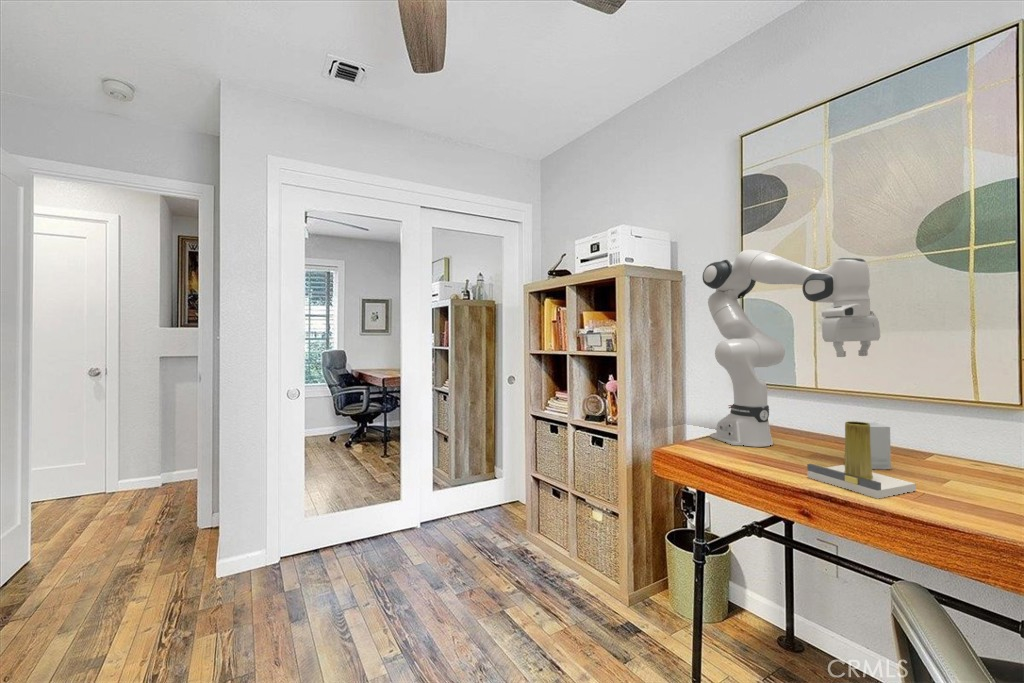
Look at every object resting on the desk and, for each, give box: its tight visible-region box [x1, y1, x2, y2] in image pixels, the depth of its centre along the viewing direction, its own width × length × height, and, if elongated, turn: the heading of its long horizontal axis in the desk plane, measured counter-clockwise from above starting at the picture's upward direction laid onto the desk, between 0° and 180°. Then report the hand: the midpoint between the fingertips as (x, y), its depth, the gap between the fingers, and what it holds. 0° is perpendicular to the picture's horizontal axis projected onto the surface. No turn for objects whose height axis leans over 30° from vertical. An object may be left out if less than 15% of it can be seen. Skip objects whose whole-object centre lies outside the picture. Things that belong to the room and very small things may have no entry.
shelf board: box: [806, 463, 917, 500], centre depth 119 cm, size 18×14×4 cm
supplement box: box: [868, 422, 892, 470], centre depth 135 cm, size 7×7×13 cm
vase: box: [844, 420, 873, 479], centre depth 119 cm, size 6×6×14 cm
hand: (852, 356), depth 135 cm, fingers open, 8 cm apart
